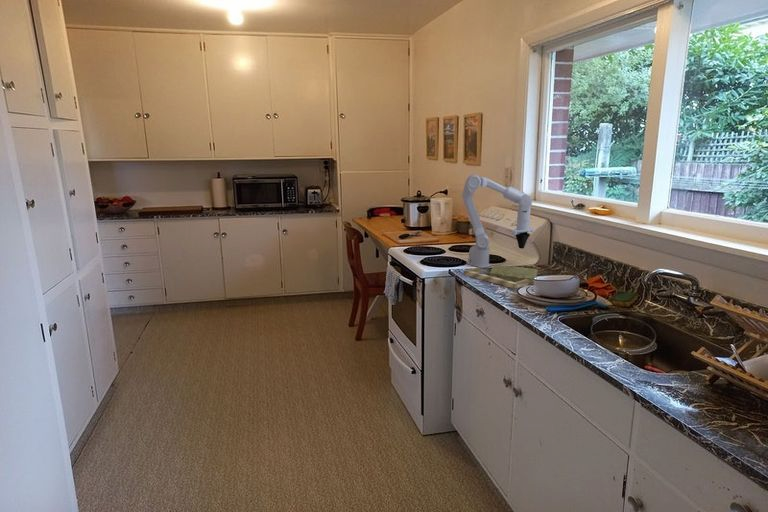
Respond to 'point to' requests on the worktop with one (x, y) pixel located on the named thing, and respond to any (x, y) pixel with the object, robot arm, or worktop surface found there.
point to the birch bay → (494, 279)
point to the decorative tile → (513, 273)
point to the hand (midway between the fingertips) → (521, 248)
